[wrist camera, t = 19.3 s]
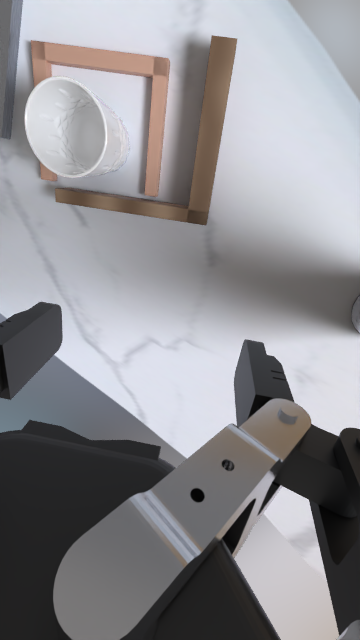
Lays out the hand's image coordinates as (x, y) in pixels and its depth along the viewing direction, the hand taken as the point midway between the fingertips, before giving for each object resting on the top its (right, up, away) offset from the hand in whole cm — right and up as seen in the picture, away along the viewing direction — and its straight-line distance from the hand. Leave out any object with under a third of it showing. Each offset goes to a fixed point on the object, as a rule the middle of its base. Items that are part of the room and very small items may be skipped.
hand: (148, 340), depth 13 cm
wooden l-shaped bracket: (-3, +23, +22) cm, 32 cm away
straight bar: (-18, +31, +21) cm, 41 cm away
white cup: (-8, +23, +23) cm, 34 cm away
